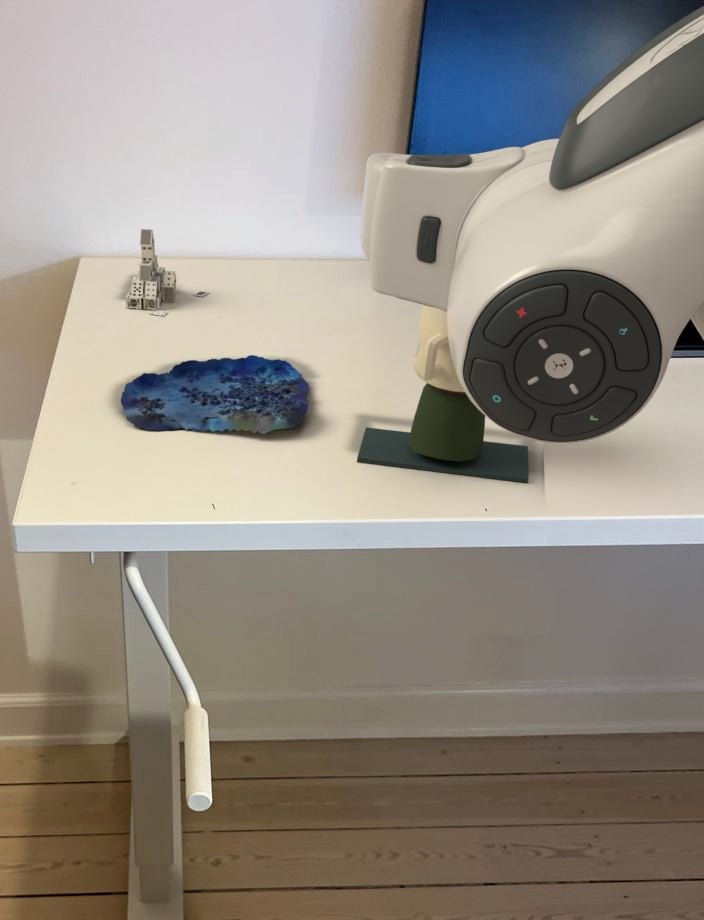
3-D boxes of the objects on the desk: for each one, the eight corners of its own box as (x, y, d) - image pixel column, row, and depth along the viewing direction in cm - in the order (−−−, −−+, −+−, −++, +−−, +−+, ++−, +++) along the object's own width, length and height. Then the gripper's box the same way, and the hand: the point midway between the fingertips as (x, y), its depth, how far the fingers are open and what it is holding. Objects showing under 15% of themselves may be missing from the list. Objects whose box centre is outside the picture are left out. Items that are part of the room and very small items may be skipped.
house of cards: (199, 318, 109) (199, 246, 105) (121, 314, 110) (118, 242, 105) (209, 291, 116) (210, 222, 112) (136, 287, 117) (134, 219, 112)
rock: (307, 439, 86) (308, 418, 85) (113, 432, 87) (111, 411, 86) (310, 375, 98) (311, 356, 97) (138, 369, 99) (137, 350, 98)
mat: (527, 450, 86) (528, 446, 85) (527, 483, 81) (528, 478, 81) (365, 431, 88) (365, 427, 88) (356, 462, 83) (357, 457, 83)
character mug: (440, 419, 89) (464, 272, 81) (512, 443, 86) (544, 292, 78) (373, 461, 83) (391, 306, 75) (447, 489, 79) (475, 329, 71)
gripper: (800, 190, 45) (747, 130, 56) (351, 159, 48) (382, 108, 59) (753, 327, 49) (711, 246, 59) (340, 289, 52) (371, 219, 63)
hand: (544, 177), depth 59 cm, fingers open, 8 cm apart
